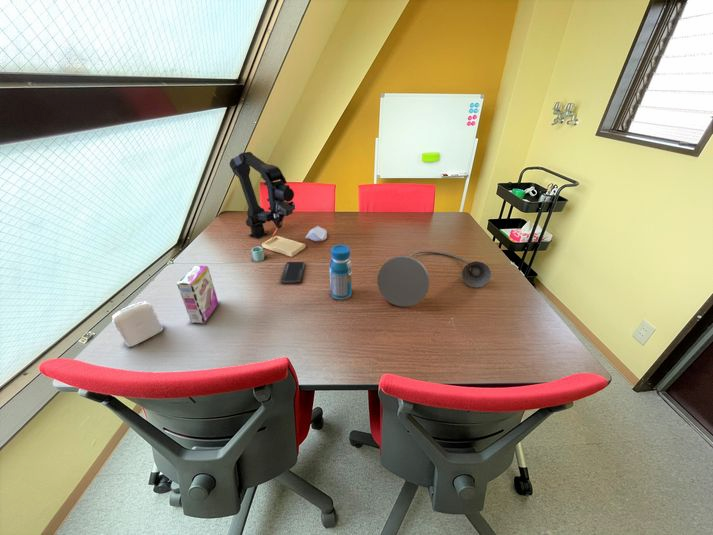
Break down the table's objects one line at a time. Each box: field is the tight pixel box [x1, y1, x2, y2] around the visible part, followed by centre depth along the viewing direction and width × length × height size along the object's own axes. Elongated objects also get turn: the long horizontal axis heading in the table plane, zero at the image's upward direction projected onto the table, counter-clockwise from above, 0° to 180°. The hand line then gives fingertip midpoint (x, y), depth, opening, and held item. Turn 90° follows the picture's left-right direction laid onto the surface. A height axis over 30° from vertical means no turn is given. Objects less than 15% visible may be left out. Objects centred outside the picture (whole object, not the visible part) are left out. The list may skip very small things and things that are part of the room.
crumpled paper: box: [304, 225, 328, 242], centre depth 150 cm, size 9×7×13 cm
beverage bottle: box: [329, 244, 353, 300], centre depth 107 cm, size 8×8×20 cm
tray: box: [261, 235, 306, 258], centre depth 143 cm, size 19×11×2 cm, turn 62°
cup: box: [251, 246, 265, 262], centre depth 132 cm, size 5×5×5 cm
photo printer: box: [111, 300, 164, 348], centre depth 89 cm, size 10×4×12 cm, turn 140°
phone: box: [281, 261, 305, 284], centre depth 123 cm, size 8×1×15 cm
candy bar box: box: [176, 265, 219, 324], centre depth 98 cm, size 11×5×16 cm, turn 178°
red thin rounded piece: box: [272, 221, 283, 237], centre depth 139 cm, size 7×1×10 cm, turn 62°
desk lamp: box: [377, 250, 492, 308], centre depth 120 cm, size 18×45×40 cm
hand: (279, 228), depth 138 cm, fingers closed on red thin rounded piece, 1 cm apart
